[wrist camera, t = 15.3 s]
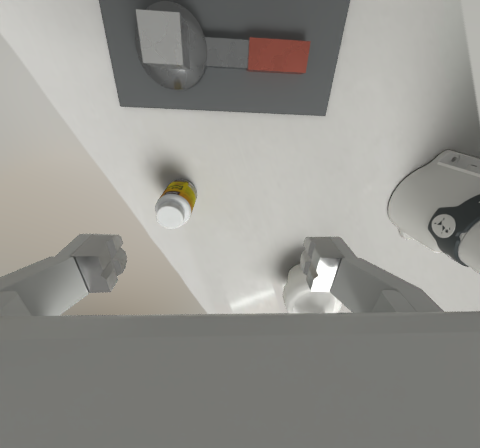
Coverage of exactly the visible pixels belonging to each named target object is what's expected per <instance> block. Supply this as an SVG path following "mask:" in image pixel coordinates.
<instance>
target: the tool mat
mask: <svg viewBox="0 0 480 448" xmlns="http://www.w3.org/2000/svg"><path fill="white" fill-rule="evenodd" d="M160 1H171V2H174V3H177V4H179V5H181V6H183V7H184V8H186V9H187V10H188V11H189V12H190V13H191V14H192V15H193V16H194V17H195V18H196V20H197V21H198V23H199V25H200V27H201V29H202V31H203V34H204V36H205V37H212V38H227V39H242V40H249V38H250V37H253V38H268V39H283V40H298V41H311V43H310V49H309V55H308V62H307V68H306V73H304V74H283V73H266V72H249V71H247V70H243V69H226V68H209V67H207V68H206V71H205V74H204V76H203V77H202V79H201V80H200V81H199V82H198V83H197V84H196V85H195V86H193V87H192V88H189V89H187V90H173V89H168V88H165V87H163V86H161V85H159V84H158V83H156V82H155V81H154V80H153V79H152V78H151V77H150V76H149V75H148V74H147V73H146V71H145V70H144V68H143V66H142V64H141V62H140V60H139V58H138V54H137V50H136V44H135V32H136V27H137V16H136V9H139V10H145V9H147V8H148V7H149V6H150V5H152V4H154V3H156V2H160ZM99 3H100V8H101V13H102V18H103V23H104V28H105V33H106V38H107V43H108V48H109V53H110V58H111V63H112V68H113V73H114V78H115V83H116V88H117V93H118V98H119V102H120V106H122V107H143V108H165V109H186V110H208V111H229V112H251V113H272V114H294V115H315V116H325V115H326V110H327V106H328V101H329V96H330V92H331V87H332V82H333V78H334V73H335V68H336V63H337V59H338V54H339V49H340V45H341V40H342V35H343V31H344V26H345V21H346V17H347V12H348V7H349V3H350V0H99Z"/></svg>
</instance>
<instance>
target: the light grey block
mask: <svg viewBox="0 0 480 448" xmlns="http://www.w3.org/2000/svg"><path fill="white" fill-rule="evenodd" d="M136 16H137V23H138V30H139V37H140V44H141V51H142V58H143V63H145V64H148V65H150V66H153V67H155V68H160V69H177V70H190V52H189V35H188V26H187V25H186V23H185V21H184V19H183V18H182V16H181V14H180V13H179V12H166V11H153V10H139V9H136Z"/></svg>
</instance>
